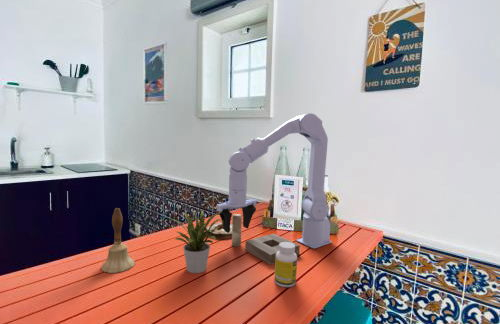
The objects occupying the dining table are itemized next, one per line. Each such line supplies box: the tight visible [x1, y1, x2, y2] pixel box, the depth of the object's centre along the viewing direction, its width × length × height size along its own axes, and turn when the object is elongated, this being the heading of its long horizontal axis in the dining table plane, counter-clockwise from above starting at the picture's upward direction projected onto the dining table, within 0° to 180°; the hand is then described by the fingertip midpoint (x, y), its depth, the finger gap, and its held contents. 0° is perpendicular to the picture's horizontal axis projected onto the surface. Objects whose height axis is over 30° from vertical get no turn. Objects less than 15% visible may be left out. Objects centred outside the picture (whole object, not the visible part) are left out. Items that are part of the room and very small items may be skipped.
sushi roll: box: [204, 222, 232, 241], centre depth 103 cm, size 15×15×4 cm
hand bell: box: [100, 207, 136, 274], centre depth 75 cm, size 8×8×16 cm
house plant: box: [170, 209, 222, 274], centre depth 75 cm, size 14×14×16 cm
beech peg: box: [231, 213, 243, 248], centre depth 92 cm, size 3×3×10 cm
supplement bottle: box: [274, 242, 298, 288], centre depth 70 cm, size 5×5×10 cm
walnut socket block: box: [244, 233, 301, 266], centre depth 87 cm, size 12×12×3 cm
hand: (236, 229), depth 92 cm, fingers open, 7 cm apart
